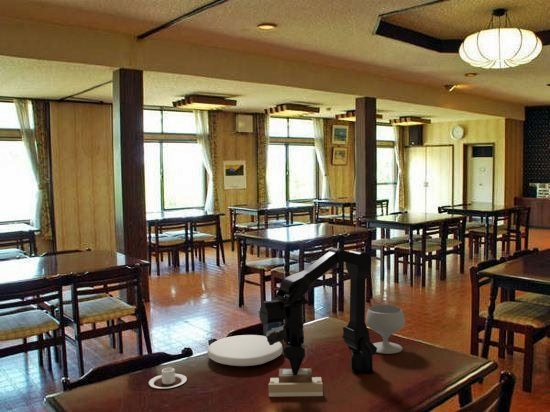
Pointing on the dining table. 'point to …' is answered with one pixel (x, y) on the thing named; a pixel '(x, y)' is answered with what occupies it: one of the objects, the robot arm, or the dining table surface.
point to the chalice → (385, 325)
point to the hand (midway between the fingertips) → (294, 369)
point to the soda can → (271, 327)
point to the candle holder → (168, 378)
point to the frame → (295, 376)
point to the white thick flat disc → (244, 350)
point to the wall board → (295, 388)
